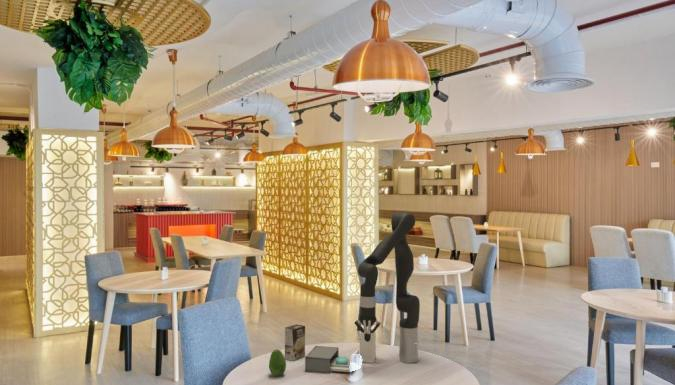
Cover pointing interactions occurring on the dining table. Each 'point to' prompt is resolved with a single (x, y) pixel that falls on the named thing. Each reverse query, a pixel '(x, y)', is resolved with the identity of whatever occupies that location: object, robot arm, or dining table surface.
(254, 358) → the dining table surface
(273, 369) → the avocado
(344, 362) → the disc
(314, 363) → the player housing
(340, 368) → the tray
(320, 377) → the dining table surface
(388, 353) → the dining table surface
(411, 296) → the robot arm
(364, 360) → the milk carton
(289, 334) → the coffee box
